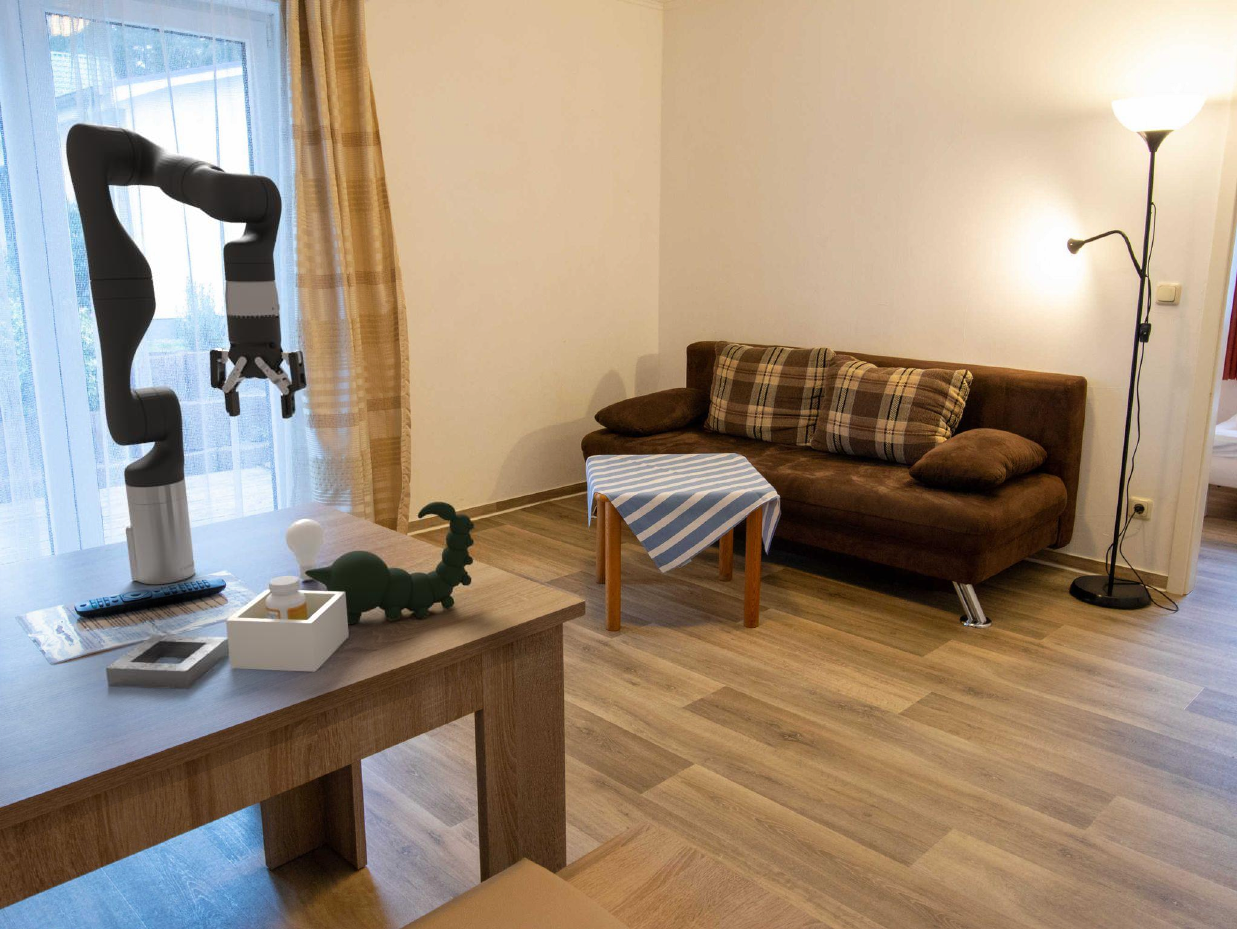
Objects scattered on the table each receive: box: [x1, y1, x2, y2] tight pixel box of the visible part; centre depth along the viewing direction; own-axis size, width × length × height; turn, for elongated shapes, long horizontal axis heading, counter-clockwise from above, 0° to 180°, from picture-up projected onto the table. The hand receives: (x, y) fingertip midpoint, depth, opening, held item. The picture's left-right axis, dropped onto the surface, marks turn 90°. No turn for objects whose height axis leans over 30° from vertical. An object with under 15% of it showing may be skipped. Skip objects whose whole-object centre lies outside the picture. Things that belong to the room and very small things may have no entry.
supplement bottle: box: [266, 575, 308, 620], centre depth 134 cm, size 5×5×10 cm
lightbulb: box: [285, 518, 326, 582], centre depth 163 cm, size 6×6×11 cm
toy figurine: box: [305, 501, 475, 625], centre depth 146 cm, size 9×19×25 cm
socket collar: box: [105, 634, 230, 690], centre depth 129 cm, size 11×11×2 cm
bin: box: [225, 588, 349, 673], centre depth 134 cm, size 12×12×7 cm
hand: (261, 416), depth 147 cm, fingers open, 8 cm apart
